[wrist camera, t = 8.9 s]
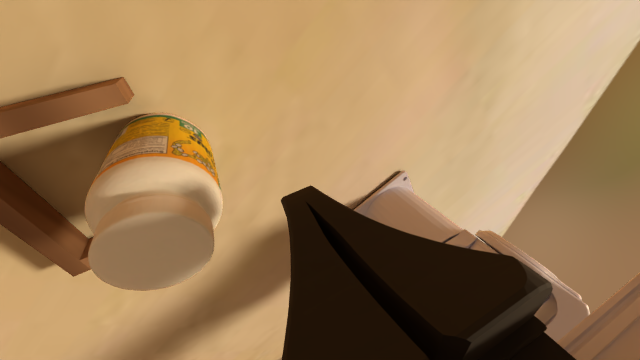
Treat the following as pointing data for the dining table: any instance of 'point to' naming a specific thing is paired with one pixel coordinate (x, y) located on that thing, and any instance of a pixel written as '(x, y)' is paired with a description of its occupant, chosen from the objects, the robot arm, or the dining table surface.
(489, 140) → the dining table surface
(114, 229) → the supplement bottle
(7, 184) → the brown wooden u-shaped frame
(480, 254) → the robot arm
